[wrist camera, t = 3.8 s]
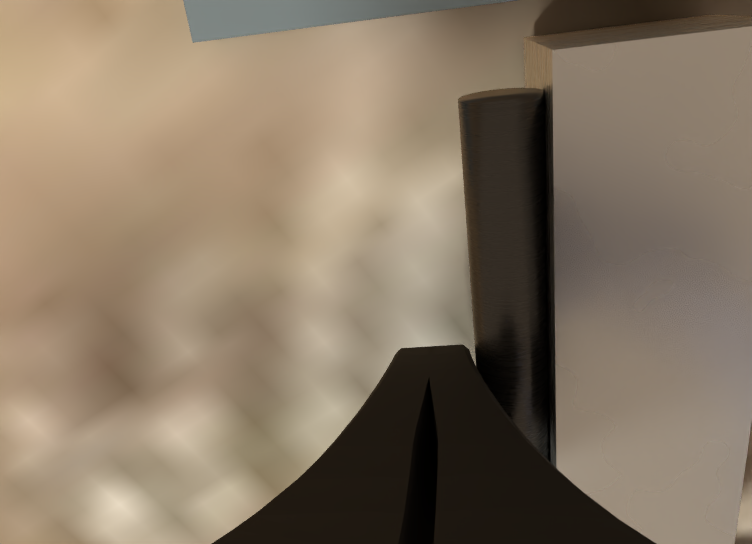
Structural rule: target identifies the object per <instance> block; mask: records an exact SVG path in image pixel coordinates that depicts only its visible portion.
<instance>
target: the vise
mask: <svg viewBox="0 0 752 544" xmlns="http://www.w3.org/2000/svg"><path fill="white" fill-rule="evenodd" d="M183 1H184V5H185V10H186V14H187V19H188V23H189V28H190V32H191V37H192V41H193V43H194V42H201V41H209V40H217V39H224V38H232V37H240V36H247V35H255V34H263V33H270V32H278V31H286V30H293V29H301V28H309V27H316V26H324V25H332V24H340V23H347V22H355V21H363V20H370V19H378V18H386V17H393V16H401V15H409V14H416V13H424V12H432V11H439V10H447V9H455V8H462V7H470V6H478V5H485V4H493V3H501V2H508V1H516V0H183Z"/></svg>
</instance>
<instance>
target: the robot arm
mask: <svg viewBox="0 0 752 544" xmlns="http://www.w3.org/2000/svg"><path fill="white" fill-rule="evenodd" d="M212 544H656V543H655V542H653V541H651V540H650V539H648V538H647V537H645V536H644V535H642V534H641V533H639V532H638V531H636V530H635V529H633V528H632V527H630V526H629V525H627V524H626V523H624V522H622V521H621V520H619V519H618V518H617V517H615V516H614V515H613V514H611V513H610V512H609V511H607V510H606V509H605V508H604V507H602V506H601V505H600V504H598V503H597V502H596V501H594V500H593V499H592V498H590V497H589V496H588V495H587V494H585V493H584V492H583V491H581V490H580V489H579V488H578V487H577V486H576V485H574V484H573V483H572V482H571V481H570V480H569V479H568V478H567V477H565V476H564V475H563V474H562V473H561V472H560V471H559V470H558V469H557V468H556V467H555V466H554V465H553V464H552V463H551V462H549V461H548V460H547V459H546V458H545V457H544V456H543V455H542V454H541V453H540V452H539V450H538V449H537V448H536V447H535V446H534V445H533V444H532V443H531V442H530V441H529V440H528V439H527V437H526V436H525V435H524V434H523V433H522V432H521V430H520V429H519V428H518V427H517V426H516V424H515V423H514V422H513V421H512V420H511V418H510V417H509V416H508V414H507V413H506V412H505V411H504V409H503V408H502V406H501V405H500V404H499V402H498V401H497V399H496V398H495V397H494V395H493V394H492V392H491V391H490V389H489V388H488V386H487V385H486V383H485V382H484V380H483V378H482V376H481V375H480V373H479V371H478V369H477V368H476V366H475V364H474V362H473V359H472V357H471V354H470V350H469V349H468V348H466V347H465V346H464V345H448V346H432V347H415V348H401V349H400V350H399V351H398V352H397V353H396V354H395V356H394V358H393V360H392V362H391V363H390V365H389V367H388V369H387V370H386V372H385V373H384V375H383V377H382V378H381V380H380V381H379V383H378V384H377V386H376V388H375V389H374V390H373V392H372V393H371V395H370V396H369V398H368V399H367V400H366V402H365V403H364V405H363V406H362V407H361V409H360V410H359V412H358V413H357V414H356V416H355V417H354V418H353V419H352V420H351V422H350V423H349V424H348V425H347V427H346V428H345V429H344V430H343V431H342V433H341V434H340V435H339V436H338V438H337V439H336V440H335V441H334V442H333V443H332V445H331V446H330V447H329V448H328V449H327V450H326V451H325V452H324V453H323V455H322V456H321V457H320V458H319V459H318V460H317V461H316V462H315V463H314V464H313V465H312V466H311V467H310V468H309V469H308V470H307V471H306V472H305V473H304V474H303V475H302V476H301V477H299V478H298V479H297V480H296V481H295V482H294V483H292V484H291V485H290V486H289V487H288V488H286V489H285V490H284V491H283V492H282V493H280V494H279V495H278V496H277V497H275V498H274V499H273V500H272V501H271V502H269V503H268V504H267V505H266V506H264V507H263V508H262V509H261V510H260V511H258V512H257V513H256V514H254V515H253V516H251V517H250V518H249V519H247V520H246V521H244V522H243V523H242V524H240V525H239V526H237V527H236V528H235V529H233V530H232V531H230V532H229V533H227V534H226V535H224V536H223V537H221V538H220V539H218V540H217V541H215V542H214V543H212Z"/></svg>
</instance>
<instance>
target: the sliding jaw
mask: <svg viewBox="0 0 752 544" xmlns="http://www.w3.org/2000/svg"><path fill="white" fill-rule="evenodd" d="M524 71H525V88H507V89H497V90H489V91H482V92H477V93H472V94H468V95H465V96H462V97H460V98H459V99H458V106H459V120H460V135H461V150H462V164H463V179H464V194H465V208H466V223H467V237H468V252H469V267H470V281H471V296H472V311H473V325H474V340H475V354H476V368H477V369H478V371H479V373H480V375H481V376H482V378H483V380H484V382H485V383H486V385H487V386H488V388H489V389H490V391H491V392H492V394H493V395H494V397H495V398H496V399H497V401H498V402H499V404H500V405H501V406H502V408H503V409H504V411H505V412H506V413H507V414H508V416H509V417H510V418H511V420H512V421H513V422H514V423H515V424H516V426H517V427H518V428H519V429H520V430H521V432H522V433H523V434H524V435H525V436H526V437H527V439H528V440H529V441H530V442H531V443H532V444H533V445H534V446H535V447H536V448H537V449H538V450H539V452H540V453H541V454H542V455H543V456H544V457H545V458H546V459H547V460H548V461H549V462H551V463H552V464H553V465H554V466H555V467H556V468H557V469H558V470H559V471H560V472H561V473H562V474H563V475H564V476H565V477H567V478H568V479H569V480H570V481H571V482H572V483H573V484H574V485H576V486H577V487H578V488H579V489H580V490H581V491H583V492H584V493H585V494H587V495H588V496H589V497H590V498H592V499H593V500H594V501H596V502H597V503H598V504H600V505H601V506H602V507H604V508H605V509H606V510H607V511H609V512H610V513H611V514H613V515H614V516H615V517H617V518H618V519H619V520H621V521H622V522H624V523H626V524H627V525H629V526H630V527H632V528H633V529H635V530H636V531H638V532H639V533H641V534H642V535H644V536H645V537H647V538H648V539H650V540H651V541H653V542H655V543H656V544H735V538H736V531H737V523H738V516H739V509H740V502H741V495H742V488H743V480H744V473H745V466H746V459H747V452H748V444H749V437H750V430H751V423H752V17H751V16H733V15H715V14H712V15H704V16H696V17H688V18H679V19H671V20H663V21H655V22H647V23H639V24H630V25H622V26H614V27H606V28H598V29H590V30H581V31H573V32H565V33H557V34H549V35H541V36H533V37H524Z"/></svg>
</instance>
